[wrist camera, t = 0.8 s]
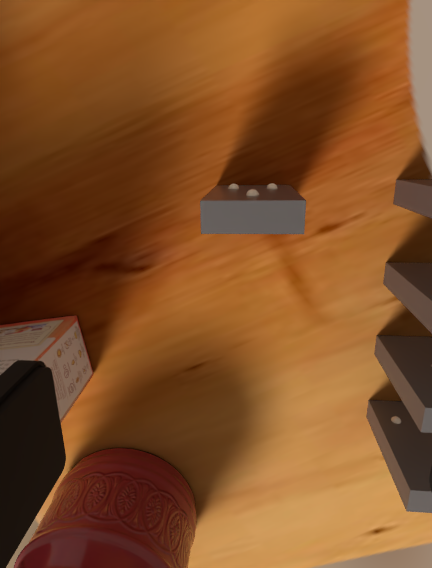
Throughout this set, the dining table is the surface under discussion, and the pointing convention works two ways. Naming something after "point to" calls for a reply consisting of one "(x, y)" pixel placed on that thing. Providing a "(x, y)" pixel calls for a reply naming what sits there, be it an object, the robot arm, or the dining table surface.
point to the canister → (116, 516)
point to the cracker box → (50, 354)
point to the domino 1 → (253, 210)
